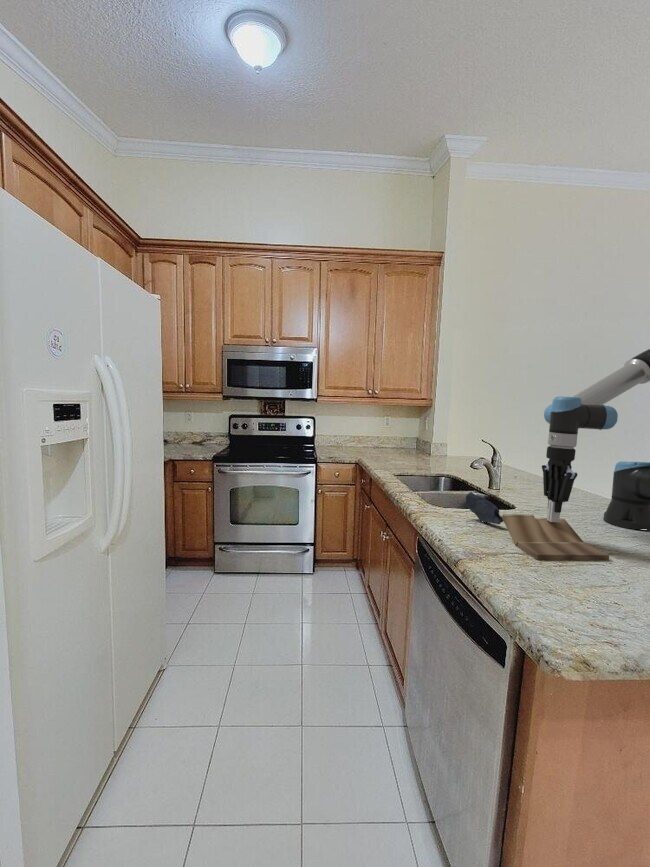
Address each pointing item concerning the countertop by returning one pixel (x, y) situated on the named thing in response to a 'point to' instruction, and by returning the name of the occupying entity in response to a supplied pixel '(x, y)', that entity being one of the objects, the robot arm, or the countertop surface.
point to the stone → (483, 509)
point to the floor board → (562, 551)
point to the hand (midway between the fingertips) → (552, 521)
